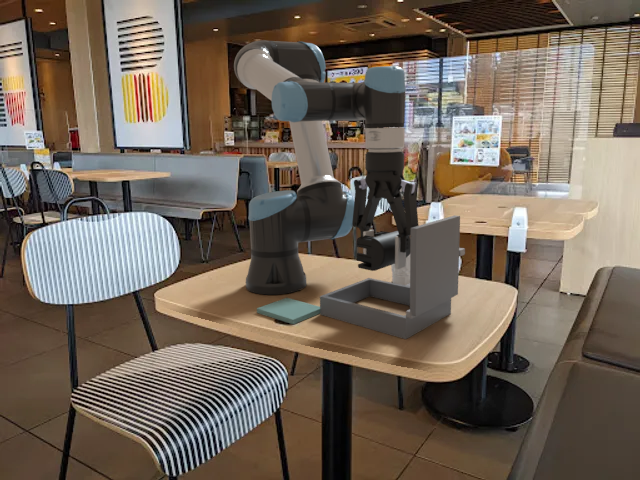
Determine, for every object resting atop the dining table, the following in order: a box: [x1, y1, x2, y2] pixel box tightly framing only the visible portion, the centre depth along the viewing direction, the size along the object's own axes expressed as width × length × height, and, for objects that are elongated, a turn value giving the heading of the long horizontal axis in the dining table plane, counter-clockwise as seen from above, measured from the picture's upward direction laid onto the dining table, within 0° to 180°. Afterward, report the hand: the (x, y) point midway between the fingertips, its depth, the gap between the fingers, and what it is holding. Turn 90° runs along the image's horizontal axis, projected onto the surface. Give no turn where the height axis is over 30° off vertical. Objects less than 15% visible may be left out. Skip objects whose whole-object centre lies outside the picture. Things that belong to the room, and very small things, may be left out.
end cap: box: [356, 230, 411, 272], centre depth 103 cm, size 10×7×7 cm
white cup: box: [390, 255, 410, 285], centre depth 126 cm, size 8×8×10 cm
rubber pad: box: [256, 297, 320, 325], centre depth 108 cm, size 11×9×1 cm
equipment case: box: [319, 215, 466, 340], centre depth 104 cm, size 23×19×21 cm
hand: (384, 264), depth 104 cm, fingers closed on end cap, 7 cm apart
